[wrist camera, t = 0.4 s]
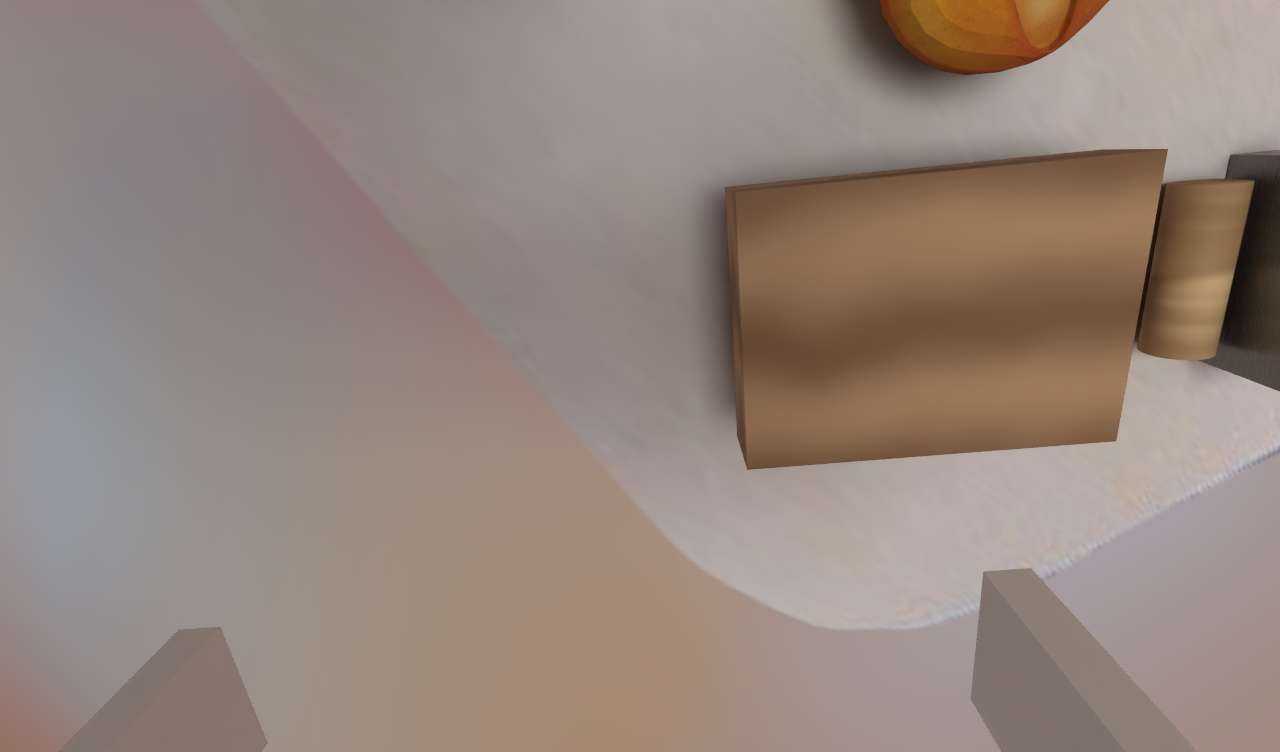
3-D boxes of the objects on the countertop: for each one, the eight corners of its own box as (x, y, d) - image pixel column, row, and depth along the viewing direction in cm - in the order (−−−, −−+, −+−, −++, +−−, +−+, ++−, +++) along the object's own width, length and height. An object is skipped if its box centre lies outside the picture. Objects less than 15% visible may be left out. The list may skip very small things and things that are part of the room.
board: (725, 187, 27) (735, 192, 24) (1103, 149, 26) (1167, 149, 23) (737, 436, 31) (747, 469, 28) (1066, 409, 30) (1116, 440, 27)
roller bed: (730, 224, 31) (738, 232, 28) (1215, 178, 30) (1274, 180, 27) (737, 376, 33) (745, 397, 31) (1182, 339, 32) (1233, 356, 30)
